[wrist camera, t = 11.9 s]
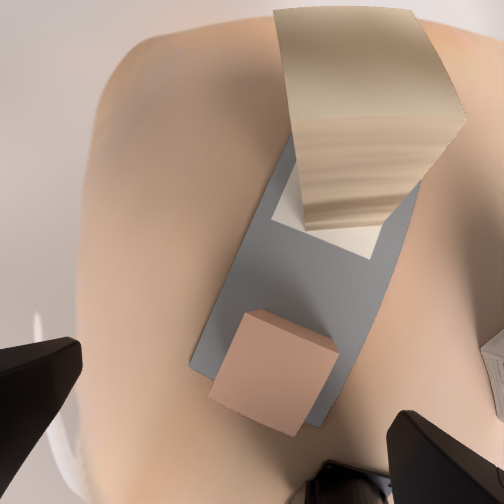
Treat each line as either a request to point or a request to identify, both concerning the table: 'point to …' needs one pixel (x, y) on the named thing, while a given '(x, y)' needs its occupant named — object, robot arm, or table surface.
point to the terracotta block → (274, 371)
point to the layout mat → (306, 278)
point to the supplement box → (496, 369)
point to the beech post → (363, 109)
